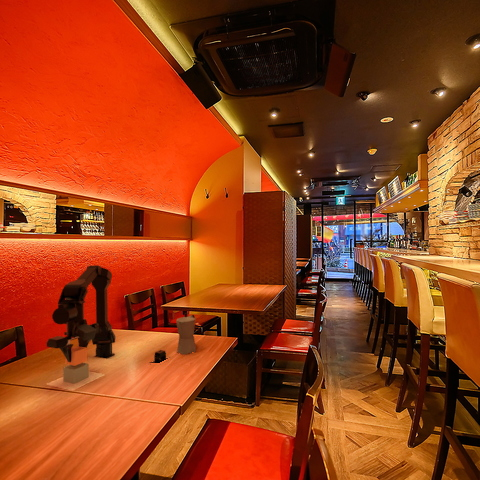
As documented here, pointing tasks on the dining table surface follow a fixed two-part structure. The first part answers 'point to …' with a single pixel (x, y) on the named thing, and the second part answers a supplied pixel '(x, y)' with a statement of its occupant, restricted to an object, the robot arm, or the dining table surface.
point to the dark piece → (159, 356)
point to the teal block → (75, 373)
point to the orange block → (77, 355)
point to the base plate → (71, 386)
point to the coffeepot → (186, 334)
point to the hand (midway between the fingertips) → (76, 359)
